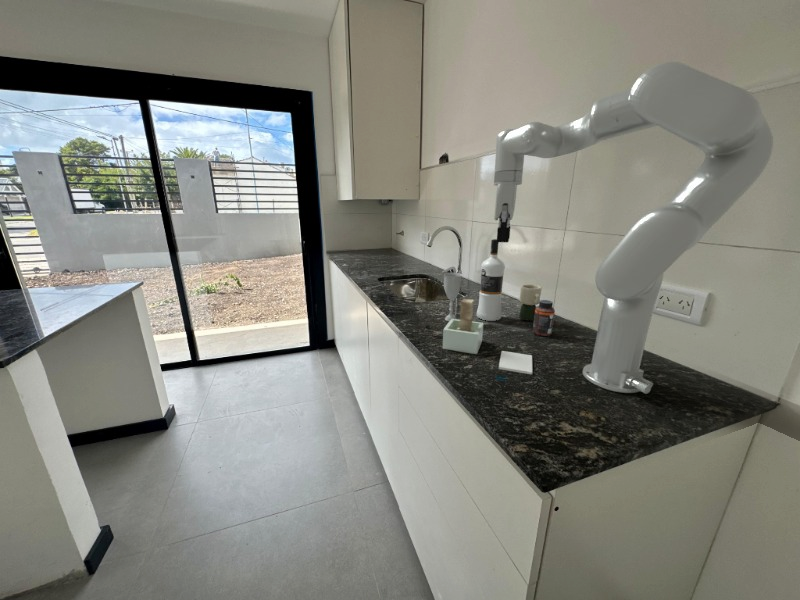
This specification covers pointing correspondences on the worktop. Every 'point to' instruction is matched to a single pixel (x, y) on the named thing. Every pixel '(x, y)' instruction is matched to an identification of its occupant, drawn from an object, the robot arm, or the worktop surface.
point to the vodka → (491, 286)
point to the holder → (462, 337)
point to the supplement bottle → (544, 318)
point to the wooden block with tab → (466, 315)
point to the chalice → (452, 290)
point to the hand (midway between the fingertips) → (503, 240)
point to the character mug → (529, 301)
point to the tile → (516, 362)
